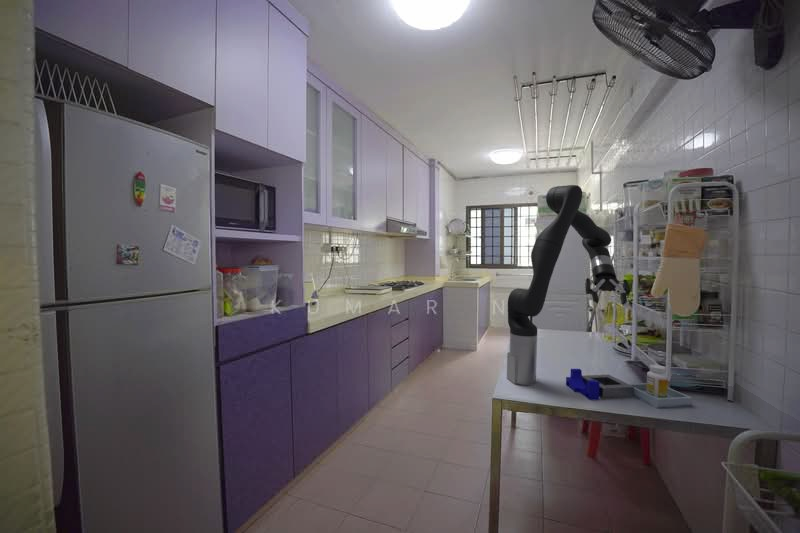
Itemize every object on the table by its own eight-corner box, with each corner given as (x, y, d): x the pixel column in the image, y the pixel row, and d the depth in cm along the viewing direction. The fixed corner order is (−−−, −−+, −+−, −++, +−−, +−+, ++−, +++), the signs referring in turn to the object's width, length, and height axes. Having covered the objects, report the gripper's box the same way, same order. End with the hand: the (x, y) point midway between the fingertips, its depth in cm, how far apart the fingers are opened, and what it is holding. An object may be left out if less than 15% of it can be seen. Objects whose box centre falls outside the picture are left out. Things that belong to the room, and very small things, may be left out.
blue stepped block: (565, 385, 119) (566, 368, 119) (578, 385, 119) (579, 368, 119) (584, 400, 107) (585, 381, 107) (598, 400, 107) (599, 381, 107)
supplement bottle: (667, 396, 109) (669, 366, 108) (666, 401, 105) (667, 370, 104) (647, 391, 112) (648, 362, 112) (645, 396, 108) (646, 366, 108)
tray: (656, 408, 101) (657, 399, 101) (625, 391, 113) (625, 384, 113) (691, 406, 103) (692, 397, 103) (656, 390, 115) (657, 382, 115)
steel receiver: (602, 399, 107) (602, 388, 107) (579, 385, 118) (580, 375, 118) (633, 397, 109) (633, 386, 109) (608, 384, 120) (608, 374, 120)
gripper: (584, 262, 132) (590, 295, 121) (626, 263, 128) (636, 297, 117) (580, 275, 137) (586, 307, 127) (621, 276, 133) (630, 309, 123)
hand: (610, 302), depth 122 cm, fingers open, 8 cm apart
